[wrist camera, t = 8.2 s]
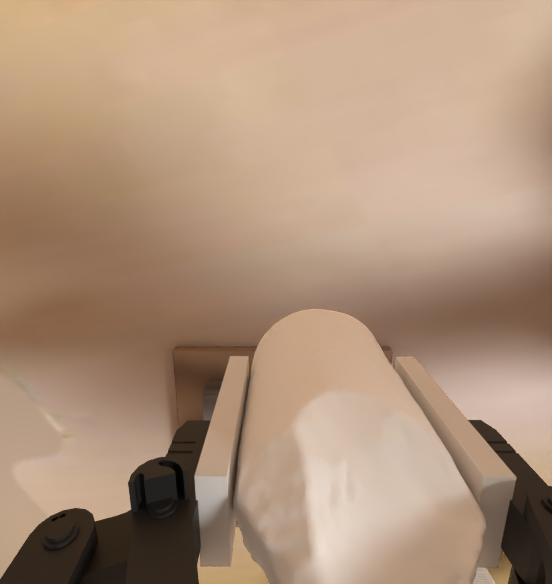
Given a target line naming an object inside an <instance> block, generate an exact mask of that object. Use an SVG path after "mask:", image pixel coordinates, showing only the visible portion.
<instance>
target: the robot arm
mask: <svg viewBox="0 0 552 584" xmlns="http://www.w3.org/2000/svg"><path fill="white" fill-rule="evenodd" d="M394 370H395V371H396V372H397V373H398V375H399V376H400V378H401V379H402V381H403V383H404V385H405V387H406V388H407V389H408V391H409V393H410V394H411V396H412V397H413V399H414V400H415V401H416V402H417V404H418V405H419V406H420V408H421V409H422V411H423V413H424V414H425V416H426V418H427V419H428V421H429V422H430V424H431V426H432V427H433V429H434V430H435V432H436V433H437V435H438V437H439V438H440V440H441V441H442V443H443V444H444V446H445V447H446V449H447V450H448V452H449V453H450V455H451V457H452V459H453V461H454V463H455V465H456V467H457V469H458V471H459V473H460V474H461V476H462V478H463V479H464V481H465V483H466V484H467V486H468V488H469V489H470V491H471V493H472V495H473V496H474V498H475V500H476V502H477V503H478V505H479V507H480V509H481V511H482V512H483V514H484V517H485V521H486V533H485V535H484V538H483V550H482V553H481V555H480V557H479V560H478V563H477V568H498V566H499V561H500V556H501V551H502V550H503V551H504V553H505V554H506V556H507V557H508V559H509V561H510V562H511V564H512V568H511V572H510V577H509V581H508V584H552V487H551V486H548V485H547V484H546V483H545V482H544V481H543V480H542V479H541V478H540V477H539V476H538V474H537V473H536V472H535V471H534V470H533V469H532V468H531V467H530V466H529V465H528V464H527V463H526V462H525V461H524V459H523V458H522V457H521V456H520V455H519V454H518V453H516V451H515V450H514V449H513V448H512V447H511V446H510V444H507V441H506V440H505V439H504V438H503V437H502V436H501V435H500V434H499V433H498V432H497V431H496V430H495V429H494V428H492V427H491V426H489V425H487V424H486V423H484V422H483V421H481V420H467V419H466V417H465V416H464V415H463V414H462V413H461V411H460V410H459V409H458V408H457V407H456V406H455V404H454V403H453V402H452V401H451V400H450V398H449V397H448V396H447V395H446V394H445V393H444V391H443V390H442V389H441V388H440V387H439V386H438V384H437V383H436V382H435V381H434V380H433V378H432V377H431V376H430V375H429V374H428V373H427V371H426V370H425V369H424V368H423V367H422V366H421V364H420V363H419V362H418V361H417V360H416V358H415V357H414V356H395V365H394ZM248 387H249V356H230V358H229V362H228V365H227V368H226V372H225V375H224V378H223V382H222V385H221V388H220V392H219V395H218V398H217V402H216V405H215V409H214V412H213V415H212V419H211V420H187V421H186V422H185V423H184V424H183V425H182V426H181V427H180V428H179V429H178V430H177V432H176V434H175V436H174V438H173V441H172V444H171V445H170V448H169V450H168V454H167V455H166V457H159V458H156V459H153V460H150V461H147V462H146V463H144V464H142V465H141V466H139V467H138V468H137V469H136V470H135V471H134V472H133V473H132V475H131V477H130V480H129V482H128V486H129V494H130V502H131V510H130V511H128V512H126V513H123V514H121V515H118V516H114V517H111V518H107V519H103V520H99V521H96V522H95V521H94V517H93V514H92V513H90V512H89V511H87V510H86V509H79V508H73V509H68V510H63V511H61V512H59V513H57V514H54V515H52V516H50V517H49V518H47V519H46V520H45V521H43V522H42V523H41V524H39V525H38V526H37V527H36V529H34V531H33V532H32V533H31V534H30V535H29V537H28V538H27V540H26V541H25V543H24V544H23V546H22V547H21V549H20V550H19V552H18V554H17V555H16V557H15V558H14V559H13V561H12V562H11V564H10V565H9V567H8V568H7V570H6V572H5V573H4V574H3V576H2V578H1V579H0V584H199V581H198V571H197V562H198V558H199V553H200V565H201V566H231V559H232V551H233V543H234V535H235V527H236V518H235V516H234V512H233V495H234V489H235V480H236V469H237V459H238V449H239V445H240V439H241V428H242V421H243V416H244V411H245V406H246V399H247V393H248Z"/></svg>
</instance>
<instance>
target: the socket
mask: <svg viewBox="0 0 552 584" xmlns="http://www.w3.org/2000/svg"><path fill="white" fill-rule="evenodd" d="M256 349H257V347H176V348H175V349H174V351H173V359H174V372H175V385H176V397H177V410H178V422H179V428H180V427H181V426H182V425H183V424H184V423H185V422H186V421H187V420H211V419H212V415H213V412H214V409H215V405H216V402H217V398H218V395H219V392H220V388H221V385H222V382H223V378H224V375H225V372H226V368H227V365H228V362H229V358H230V356H249V382H250V376H251V369H252V362H253V358H254V354H255V351H256ZM381 349H382V351H383V353H384V354H385V356H386V358H387V359H388V361H389V363H390V364H391V361H392V350H391V349H390V347H381ZM236 527H239V525H238V523H237V520H236Z"/></svg>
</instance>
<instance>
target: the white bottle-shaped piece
mask: <svg viewBox="0 0 552 584" xmlns="http://www.w3.org/2000/svg"><path fill="white" fill-rule="evenodd" d="M233 512H234V516H235V518H236V520H237V523H238V525H239V528H240V530H241V532H242V536H243V543H244V545H245V547H246V548H247V550H248V551H249V552H250V554H251V557H252V559H253V560H254V561H255V562H256V563H258V564H259V565H260V566H261V567H262V569H263V570H264V572H265V575H266V577H267V579H268V580H269V582H270V584H473V581H474V579H475V576H476V570H477V563H478V560H479V557H480V555H481V553H482V550H483V538H484V535H485V533H486V521H485V517H484V514H483V512H482V511H481V509H480V507H479V505H478V503H477V502H476V500H475V498H474V496H473V495H472V493H471V491H470V489H469V488H468V486H467V484H466V483H465V481H464V479H463V478H462V476H461V474H460V473H459V471H458V469H457V467H456V465H455V463H454V461H453V459H452V457H451V455H450V453H449V452H448V450H447V449H446V447H445V446H444V444H443V443H442V441H441V440H440V438H439V437H438V435H437V433H436V432H435V430H434V429H433V427H432V426H431V424H430V422H429V421H428V419H427V418H426V416H425V414H424V413H423V411H422V409H421V408H420V406H419V405H418V404H417V402H416V401H415V400H414V399H413V397H412V396H411V394H410V393H409V391H408V389H407V388H406V387H405V385H404V383H403V381H402V379H401V378H400V376H399V375H398V373H397V372H396V371H395V370H394V368H393V367H392V365H391V364H390V363H389V361H388V359H387V358H386V356H385V354H384V353H383V351H382V349H381V347H380V346H379V344H378V342H377V341H376V339H375V338H374V336H373V334H372V333H371V332H370V330H369V329H368V328H367V327H366V326H365V325H364V324H363V323H362V322H360V321H359V320H357V319H356V318H354V317H352V316H350V315H348V314H345V313H341V312H338V311H332V310H326V309H307V310H302V311H298V312H295V313H292V314H290V315H288V316H286V317H284V318H283V319H281V320H280V321H278V322H277V323H275V324H274V325H273V326H272V327H271V328H270V329H269V330H268V331H267V332H266V333H265V334H264V336H263V337H262V339H261V340H260V342H259V344H258V346H257V349H256V351H255V354H254V358H253V362H252V369H251V376H250V382H249V387H248V393H247V399H246V406H245V411H244V416H243V421H242V428H241V439H240V445H239V449H238V459H237V469H236V480H235V489H234V495H233Z"/></svg>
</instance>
